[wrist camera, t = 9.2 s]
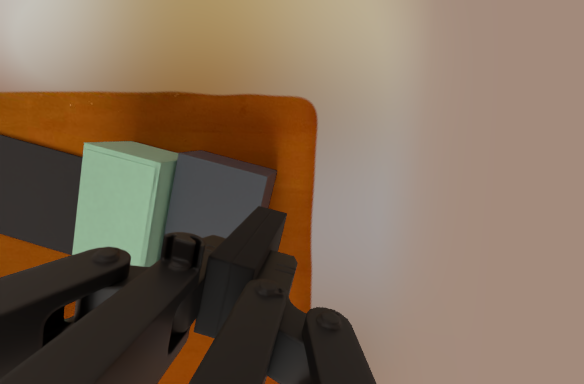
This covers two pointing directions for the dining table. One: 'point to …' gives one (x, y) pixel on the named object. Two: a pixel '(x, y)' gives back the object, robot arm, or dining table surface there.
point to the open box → (124, 199)
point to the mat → (38, 194)
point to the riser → (215, 193)
